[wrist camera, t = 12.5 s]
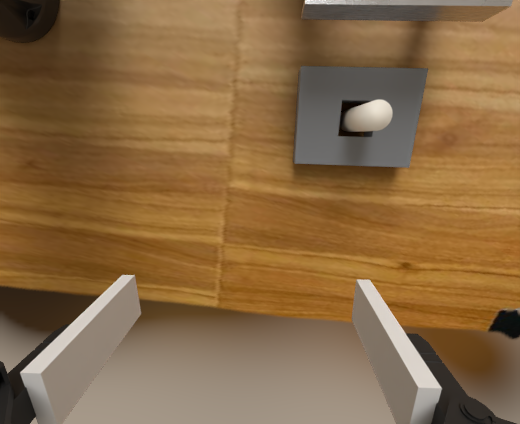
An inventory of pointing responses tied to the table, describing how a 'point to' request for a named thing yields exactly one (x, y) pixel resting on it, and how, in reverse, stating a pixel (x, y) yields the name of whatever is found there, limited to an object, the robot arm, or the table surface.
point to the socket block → (357, 92)
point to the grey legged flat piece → (403, 10)
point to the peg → (366, 117)
